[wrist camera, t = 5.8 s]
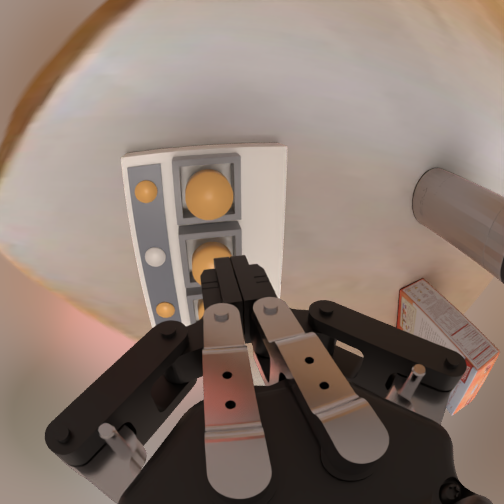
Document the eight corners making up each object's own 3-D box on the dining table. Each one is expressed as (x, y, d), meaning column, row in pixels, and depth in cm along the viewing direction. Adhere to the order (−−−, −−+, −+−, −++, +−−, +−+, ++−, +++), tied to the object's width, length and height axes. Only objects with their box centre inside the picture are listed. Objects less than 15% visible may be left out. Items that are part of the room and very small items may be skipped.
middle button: (231, 239, 28) (234, 249, 27) (232, 275, 30) (235, 285, 29) (189, 243, 28) (190, 253, 26) (193, 279, 30) (194, 290, 28)
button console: (278, 142, 30) (295, 149, 26) (272, 302, 40) (283, 327, 35) (126, 153, 27) (115, 162, 23) (154, 316, 37) (152, 343, 32)
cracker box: (416, 328, 52) (474, 399, 34) (393, 341, 52) (449, 418, 34) (424, 275, 45) (502, 351, 27) (398, 288, 45) (476, 374, 27)
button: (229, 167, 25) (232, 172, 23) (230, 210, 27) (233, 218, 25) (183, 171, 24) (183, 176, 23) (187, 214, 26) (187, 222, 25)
